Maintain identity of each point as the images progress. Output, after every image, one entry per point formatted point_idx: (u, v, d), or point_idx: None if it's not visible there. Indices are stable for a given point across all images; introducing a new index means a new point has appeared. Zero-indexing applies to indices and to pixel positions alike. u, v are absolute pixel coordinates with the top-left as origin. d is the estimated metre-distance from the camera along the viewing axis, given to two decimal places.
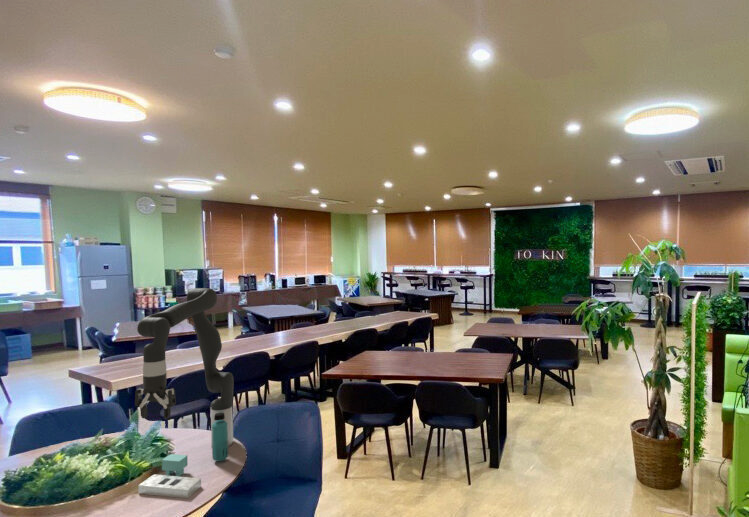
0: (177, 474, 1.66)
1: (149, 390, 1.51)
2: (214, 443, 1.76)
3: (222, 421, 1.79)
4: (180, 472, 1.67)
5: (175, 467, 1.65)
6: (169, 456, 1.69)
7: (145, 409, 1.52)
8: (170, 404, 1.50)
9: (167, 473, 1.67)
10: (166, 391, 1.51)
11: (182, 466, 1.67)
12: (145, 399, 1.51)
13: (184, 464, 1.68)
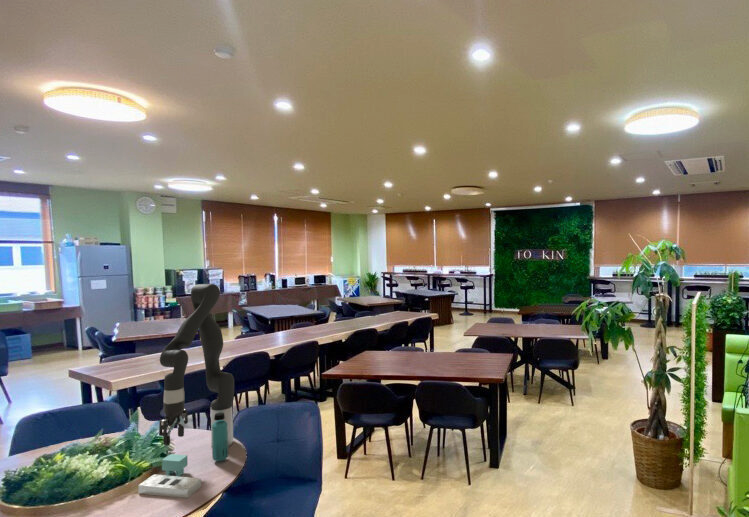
0: (177, 474, 1.66)
1: (174, 416, 1.67)
2: (214, 443, 1.76)
3: (222, 421, 1.79)
4: (180, 472, 1.67)
5: (175, 467, 1.65)
6: (169, 456, 1.69)
7: None
8: (187, 421, 1.74)
9: (167, 473, 1.67)
10: (182, 412, 1.73)
11: (182, 466, 1.67)
12: (173, 425, 1.65)
13: (184, 464, 1.68)
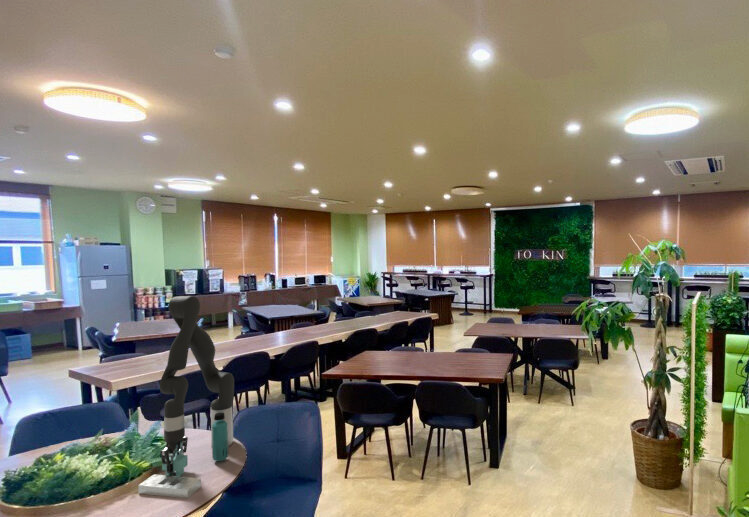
0: (177, 474, 1.66)
1: (174, 443, 1.67)
2: (214, 443, 1.76)
3: (222, 421, 1.79)
4: (180, 472, 1.67)
5: (175, 467, 1.65)
6: None
7: None
8: (185, 450, 1.73)
9: (167, 473, 1.67)
10: (182, 439, 1.73)
11: (182, 466, 1.67)
12: (175, 452, 1.66)
13: (184, 464, 1.68)
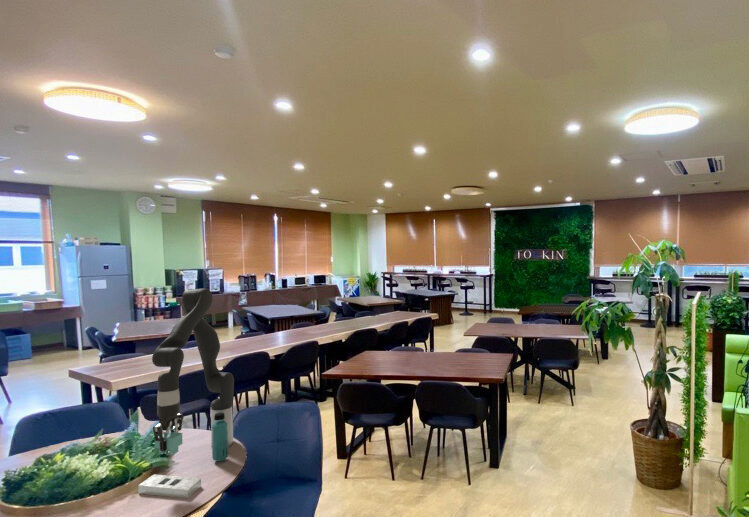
0: (171, 453, 1.54)
1: (168, 419, 1.55)
2: (214, 443, 1.76)
3: (222, 421, 1.79)
4: (174, 450, 1.55)
5: (169, 445, 1.53)
6: (163, 434, 1.57)
7: None
8: (180, 427, 1.61)
9: (160, 452, 1.55)
10: (177, 416, 1.61)
11: (176, 444, 1.55)
12: (169, 429, 1.54)
13: (179, 442, 1.56)
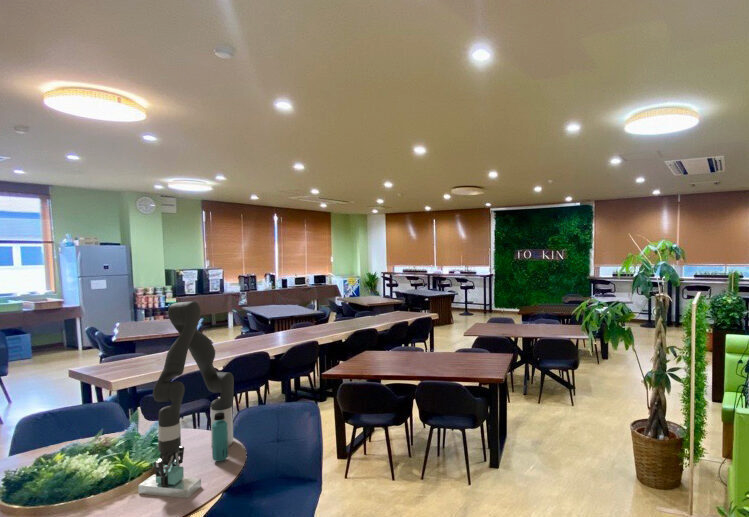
0: None
1: (169, 454, 1.55)
2: (214, 443, 1.76)
3: (222, 421, 1.79)
4: None
5: (170, 480, 1.53)
6: None
7: None
8: (181, 460, 1.61)
9: None
10: (178, 449, 1.61)
11: (177, 479, 1.55)
12: (170, 464, 1.54)
13: (180, 476, 1.56)
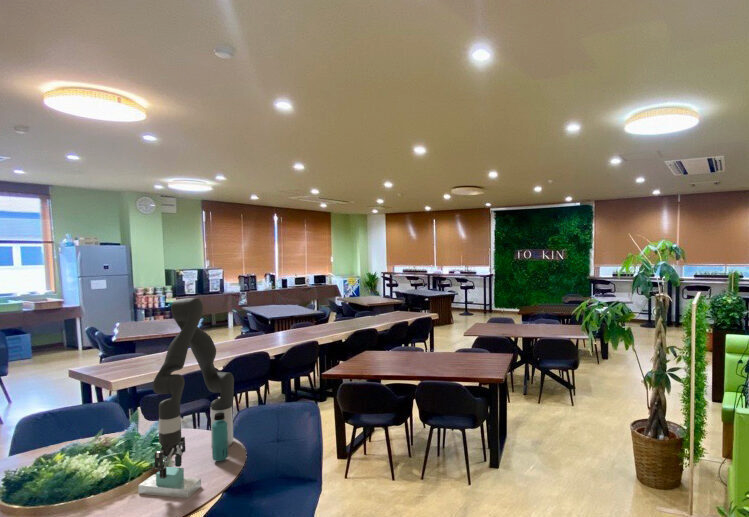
0: None
1: (170, 446, 1.55)
2: (214, 443, 1.76)
3: (222, 421, 1.79)
4: None
5: (170, 482, 1.53)
6: None
7: None
8: (184, 449, 1.63)
9: None
10: None
11: (178, 480, 1.55)
12: (170, 456, 1.54)
13: (180, 478, 1.56)
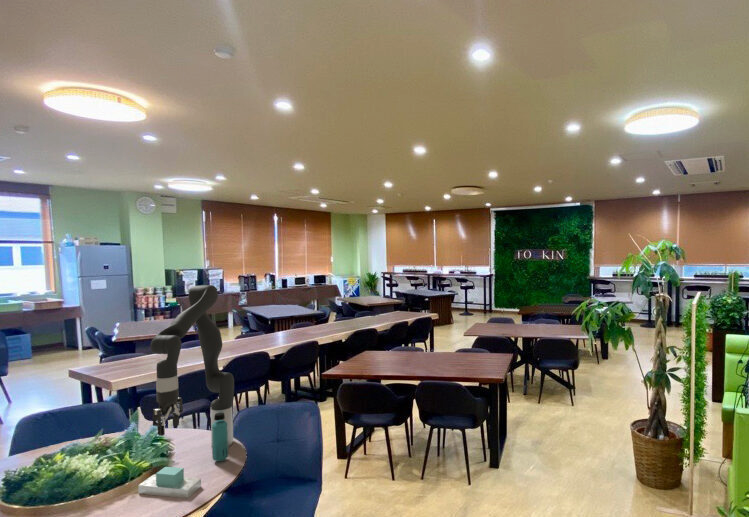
0: None
1: (168, 405, 1.58)
2: (214, 443, 1.76)
3: (222, 421, 1.79)
4: None
5: (170, 482, 1.53)
6: (164, 469, 1.57)
7: None
8: (182, 410, 1.66)
9: None
10: (176, 400, 1.64)
11: (178, 480, 1.55)
12: (167, 414, 1.57)
13: (180, 478, 1.56)
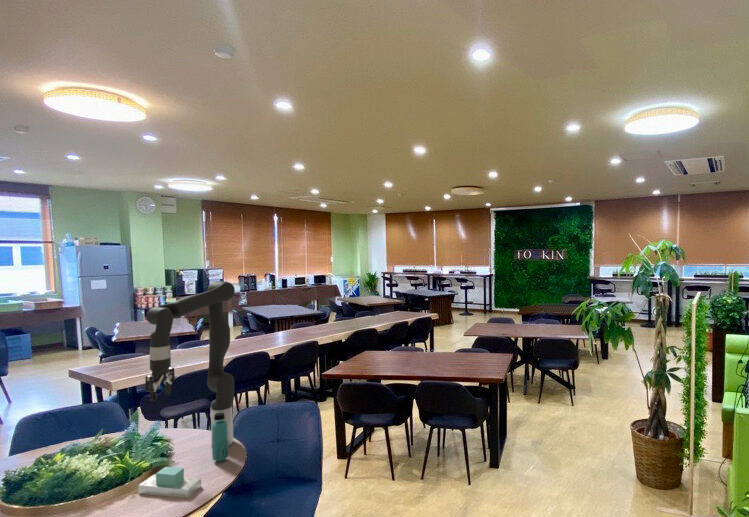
0: None
1: (160, 373, 1.68)
2: (214, 443, 1.76)
3: (222, 421, 1.79)
4: None
5: (170, 482, 1.53)
6: (164, 469, 1.57)
7: None
8: (174, 379, 1.76)
9: None
10: (169, 370, 1.74)
11: (178, 480, 1.55)
12: (159, 381, 1.67)
13: (180, 478, 1.56)
